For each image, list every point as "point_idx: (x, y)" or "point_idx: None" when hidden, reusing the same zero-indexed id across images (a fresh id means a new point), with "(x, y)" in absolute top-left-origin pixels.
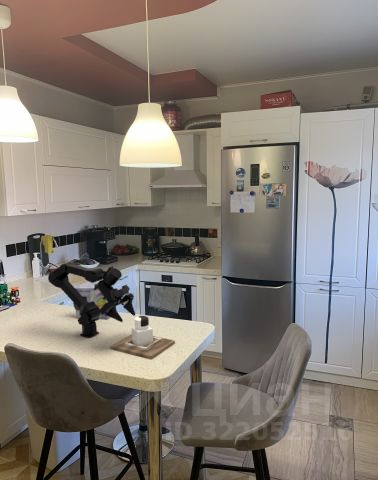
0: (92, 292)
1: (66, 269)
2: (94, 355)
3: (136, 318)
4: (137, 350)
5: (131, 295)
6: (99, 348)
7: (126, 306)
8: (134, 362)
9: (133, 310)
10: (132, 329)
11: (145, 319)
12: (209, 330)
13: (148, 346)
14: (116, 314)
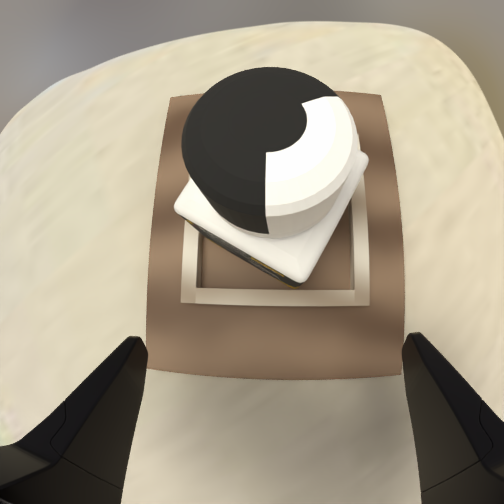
0: None
1: None
2: (475, 376)
3: (329, 159)
4: (373, 186)
5: None
6: (408, 422)
7: (98, 500)
8: (441, 153)
9: (104, 374)
10: (317, 260)
11: (286, 69)
12: (39, 95)
13: None
14: (489, 414)
